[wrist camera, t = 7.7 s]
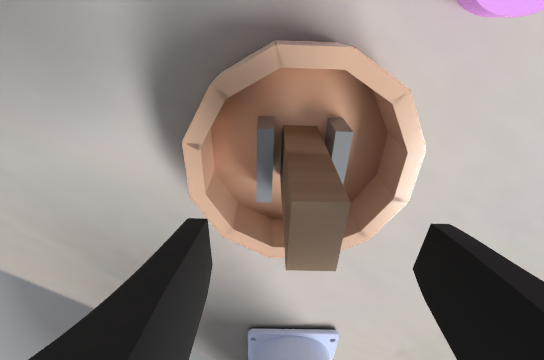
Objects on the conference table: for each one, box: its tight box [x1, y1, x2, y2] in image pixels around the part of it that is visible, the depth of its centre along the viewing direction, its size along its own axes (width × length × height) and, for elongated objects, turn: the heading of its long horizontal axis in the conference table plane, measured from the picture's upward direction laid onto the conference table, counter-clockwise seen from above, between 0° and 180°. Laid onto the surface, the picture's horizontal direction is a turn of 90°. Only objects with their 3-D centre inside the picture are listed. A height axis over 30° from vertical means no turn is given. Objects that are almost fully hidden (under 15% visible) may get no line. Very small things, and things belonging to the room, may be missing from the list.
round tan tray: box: [182, 40, 427, 258], centre depth 14 cm, size 11×11×3 cm
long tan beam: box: [280, 125, 351, 271], centre depth 12 cm, size 3×2×7 cm, turn 178°
